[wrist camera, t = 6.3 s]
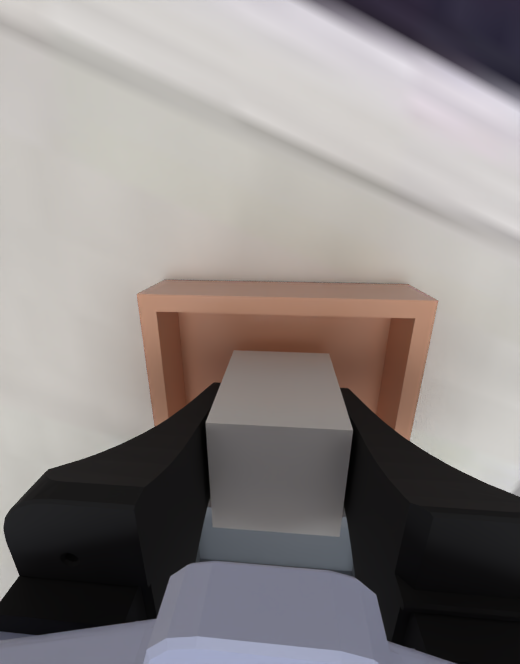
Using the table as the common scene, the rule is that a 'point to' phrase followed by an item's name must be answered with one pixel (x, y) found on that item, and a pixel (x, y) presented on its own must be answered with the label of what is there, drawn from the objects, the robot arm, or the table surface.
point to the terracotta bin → (288, 337)
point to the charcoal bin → (276, 547)
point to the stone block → (279, 444)
